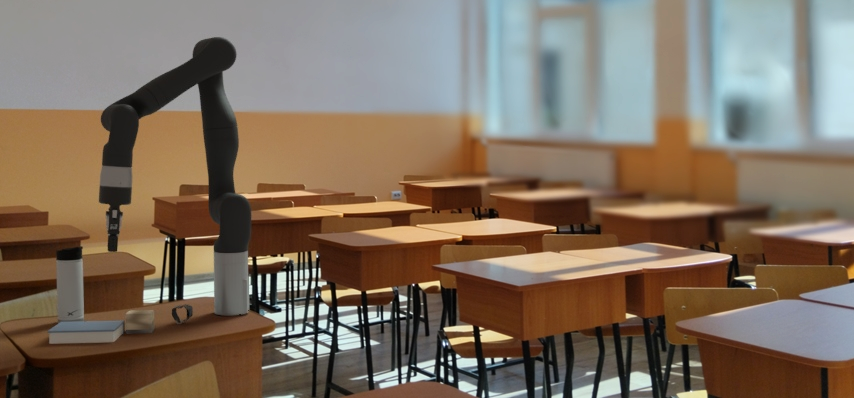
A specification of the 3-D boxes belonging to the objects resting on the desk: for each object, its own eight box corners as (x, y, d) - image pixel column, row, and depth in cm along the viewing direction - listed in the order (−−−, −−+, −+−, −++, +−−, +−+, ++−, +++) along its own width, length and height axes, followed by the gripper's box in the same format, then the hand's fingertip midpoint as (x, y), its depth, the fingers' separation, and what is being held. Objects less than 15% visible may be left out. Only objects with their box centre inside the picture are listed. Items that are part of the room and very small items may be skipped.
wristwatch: (189, 325, 207) (188, 306, 206) (171, 324, 208) (170, 305, 208) (195, 322, 210) (194, 303, 209) (177, 321, 211) (177, 302, 210)
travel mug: (75, 325, 205) (73, 248, 204) (52, 324, 207) (50, 247, 205) (90, 320, 211) (88, 245, 210) (67, 319, 213) (66, 244, 211)
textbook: (124, 334, 198) (124, 320, 198) (114, 344, 188) (114, 329, 188) (61, 335, 196) (61, 321, 196) (47, 345, 187) (47, 331, 186)
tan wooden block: (154, 329, 202) (154, 310, 202) (151, 333, 198) (150, 313, 198) (129, 330, 201) (129, 310, 201) (125, 333, 197) (125, 313, 197)
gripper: (132, 186, 193) (129, 253, 194) (131, 185, 206) (127, 247, 207) (99, 184, 190) (95, 252, 191) (99, 183, 204) (96, 246, 204)
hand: (112, 250), depth 199 cm, fingers open, 8 cm apart
